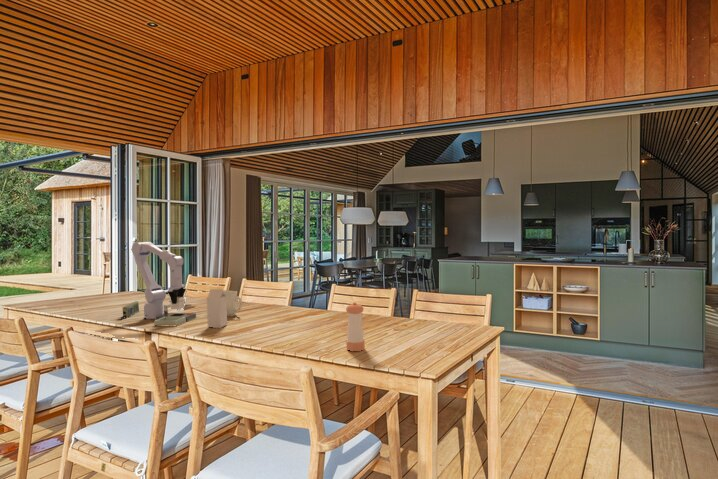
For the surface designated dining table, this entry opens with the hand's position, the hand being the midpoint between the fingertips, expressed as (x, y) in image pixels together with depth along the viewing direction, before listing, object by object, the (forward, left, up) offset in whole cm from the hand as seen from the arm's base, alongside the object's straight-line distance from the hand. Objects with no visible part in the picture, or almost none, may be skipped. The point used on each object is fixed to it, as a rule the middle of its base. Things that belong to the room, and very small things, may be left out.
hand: (177, 302), depth 255 cm
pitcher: (+25, +12, -10) cm, 29 cm away
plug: (0, 0, -3) cm, 3 cm away
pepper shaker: (+106, -55, -10) cm, 120 cm away
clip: (-5, +7, -7) cm, 11 cm away
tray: (+2, -12, -9) cm, 15 cm away
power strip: (-1, 0, -9) cm, 9 cm away
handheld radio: (-35, +9, -10) cm, 37 cm away
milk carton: (+30, -16, -10) cm, 35 cm away
